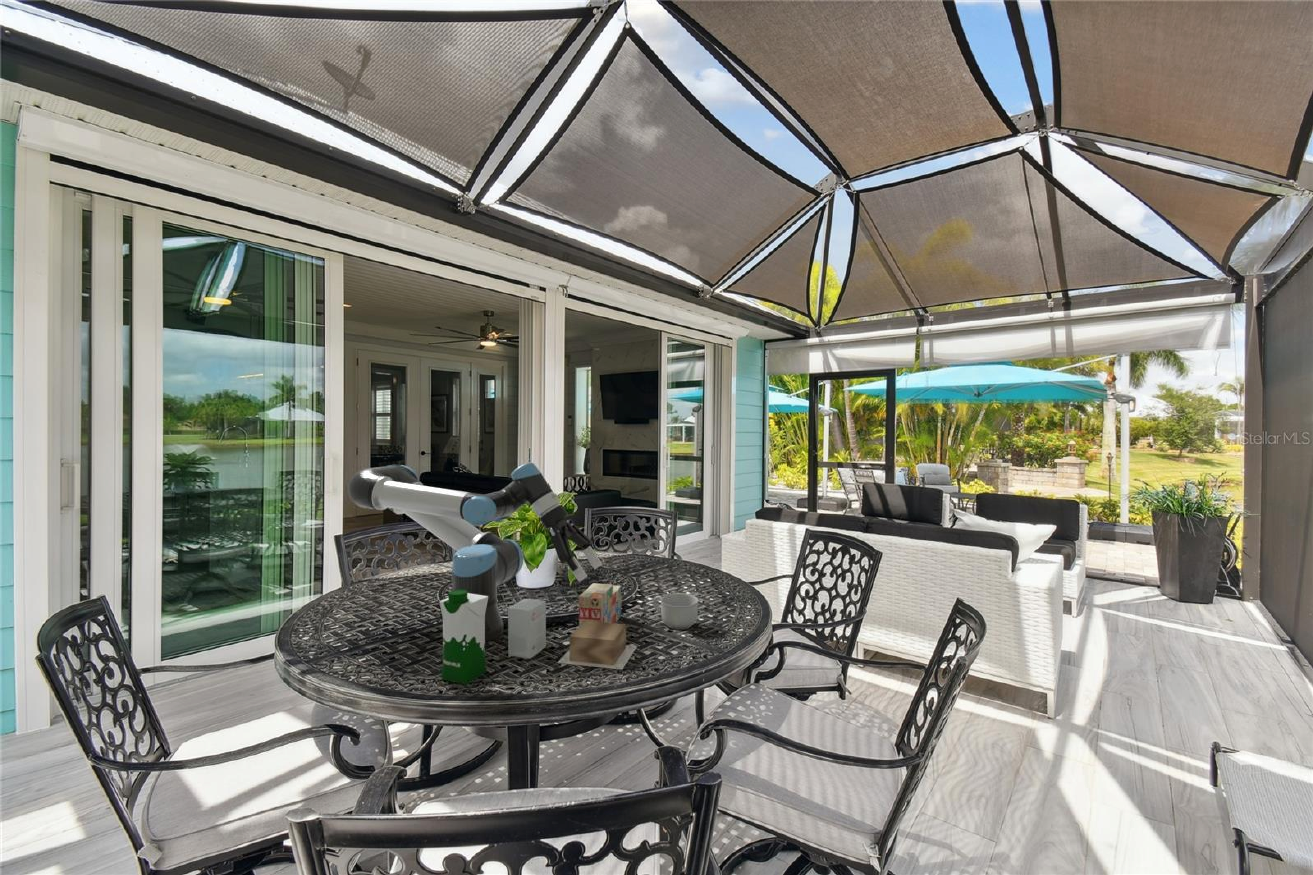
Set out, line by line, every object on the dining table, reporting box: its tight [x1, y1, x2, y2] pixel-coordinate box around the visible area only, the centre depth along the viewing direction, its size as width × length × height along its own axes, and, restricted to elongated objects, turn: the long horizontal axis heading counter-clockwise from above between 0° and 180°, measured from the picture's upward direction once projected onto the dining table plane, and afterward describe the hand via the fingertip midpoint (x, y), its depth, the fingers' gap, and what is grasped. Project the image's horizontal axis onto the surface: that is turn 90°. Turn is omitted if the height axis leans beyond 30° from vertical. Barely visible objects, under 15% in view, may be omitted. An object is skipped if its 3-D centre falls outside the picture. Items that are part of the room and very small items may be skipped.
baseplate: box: [557, 643, 638, 670], centre depth 144 cm, size 16×14×2 cm
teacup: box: [652, 592, 699, 631], centre depth 168 cm, size 14×11×8 cm
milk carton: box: [439, 590, 489, 685], centre depth 134 cm, size 9×9×20 cm
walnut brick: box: [569, 621, 627, 665], centre depth 144 cm, size 11×11×6 cm
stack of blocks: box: [578, 582, 622, 627], centre depth 166 cm, size 21×6×12 cm, turn 169°
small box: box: [507, 598, 547, 659], centre depth 146 cm, size 8×6×13 cm
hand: (591, 573), depth 166 cm, fingers open, 13 cm apart
